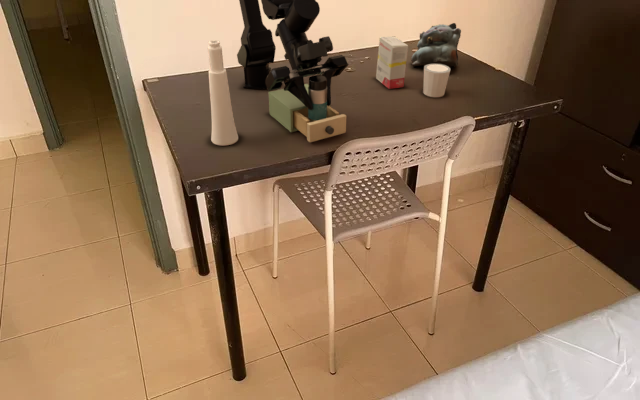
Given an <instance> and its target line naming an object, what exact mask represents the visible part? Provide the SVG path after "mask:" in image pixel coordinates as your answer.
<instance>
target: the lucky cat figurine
mask: <svg viewBox="0 0 640 400" xmlns="http://www.w3.org/2000/svg"><path fill="white" fill-rule="evenodd" d="M461 33H462V29H461V28H459V27H457V23H455V22H452V23H450V24H449V25H447V24H444V23H442V24H437V25H432V26H431V27H430V28H429V29H427V30H426V31H422V32H421V33H419V40H418V42H417V45H416V47H417V50H416V51H414V53H413V54H411V59H410V60H411V63H410V65H411V66H412V67H413V68H414V67H418V66H426V65H428V64H442V65H446V66H448V67H449V68H455V67H458V66H459V63H458V62H459V54H458V47H459V43H460V38H461V36H462V35H461Z"/></svg>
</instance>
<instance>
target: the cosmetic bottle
mask: <svg viewBox="0 0 640 400" xmlns="http://www.w3.org/2000/svg"><path fill="white" fill-rule="evenodd" d="M207 43H208V47H207V52H208V63H209V69H208V87H209V98H210V99H209V100H210V113H211V114H210V115H211V136H210V140H211V142H212V144H213V145H217V146H223V147H225V146H229V145H230V146H231V145H234V144H235V143H237V142H238V141H239V134H238V131H237V127H236V123H235V118H234V113H233V107H232V100H231V99H232V98H231V94H230V86H229V81H228V73H227V69H226V68H225V66H224V58H223V57H224V55H223V47H222V46H221V42H220V40H214V39H213V40H209V41H208V42H207Z"/></svg>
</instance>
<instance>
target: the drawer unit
mask: <svg viewBox="0 0 640 400" xmlns="http://www.w3.org/2000/svg"><path fill="white" fill-rule="evenodd" d="M304 86H305V88H306V90H307V93H308V86H309V83H304ZM331 105H332V104H331ZM331 105H330V107H331V108H332V106H331ZM268 108H269V115H270V116H271V117H272V118H273V119H274V120H276V121H277V122H278V123H279V124H280V125H281V126H282V127H284V128H285V129H287V131H289V132H290V133H294V132H299V130H298V129H297V128H295V127H294V126H293V111H296V110H300V109H304V108H307V107H306V106H305V105H304V104H303V103H302V102H301V101H300V100H299V99H298V98H297V97H295V96H294V95H293V94H291V93H290V92H289V91H284V88H280V89H276V90H271V91H268Z"/></svg>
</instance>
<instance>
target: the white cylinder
mask: <svg viewBox="0 0 640 400" xmlns="http://www.w3.org/2000/svg"><path fill="white" fill-rule="evenodd" d="M450 73H451V67H449V66H446V65H442V64H428V65H423V84H422V87H423V88H422V89H423V90H422V93H423V94H424V95H425V96H427V97H430V98H441V97H444V96H445V93H446V90H447V85H448V82H449V77H450Z"/></svg>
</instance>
